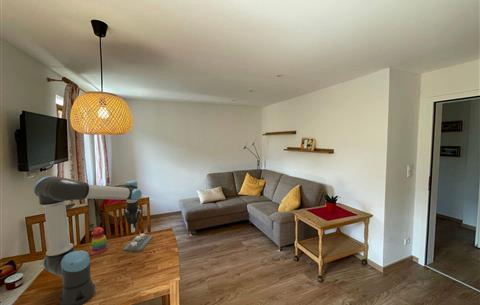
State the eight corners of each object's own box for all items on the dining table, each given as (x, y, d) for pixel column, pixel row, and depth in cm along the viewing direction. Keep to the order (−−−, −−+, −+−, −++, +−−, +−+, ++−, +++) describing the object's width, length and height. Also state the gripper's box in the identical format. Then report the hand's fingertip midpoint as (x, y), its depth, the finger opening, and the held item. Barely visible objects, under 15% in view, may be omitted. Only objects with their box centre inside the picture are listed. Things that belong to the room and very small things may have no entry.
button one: (135, 248, 156) (135, 243, 156) (130, 247, 156) (130, 243, 156) (138, 245, 160) (137, 241, 160) (133, 245, 160) (132, 241, 160)
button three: (143, 239, 169) (143, 235, 169) (138, 239, 169) (138, 235, 169) (146, 236, 173) (145, 233, 173) (141, 236, 173) (141, 233, 173)
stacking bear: (92, 248, 158) (91, 226, 157) (108, 245, 162) (106, 223, 161) (89, 256, 148) (87, 232, 147) (105, 252, 153) (104, 229, 151)
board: (141, 251, 155) (140, 247, 155) (122, 250, 155) (122, 247, 155) (152, 237, 175) (152, 234, 174) (136, 237, 175) (136, 234, 175)
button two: (139, 241, 163) (139, 237, 162) (134, 241, 163) (134, 237, 162) (142, 239, 167) (142, 235, 166) (137, 239, 167) (137, 235, 166)
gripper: (143, 199, 159) (144, 229, 161) (126, 199, 159) (127, 229, 161) (138, 203, 151) (139, 234, 153) (120, 202, 152) (121, 233, 153)
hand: (133, 231), depth 157 cm, fingers closed
